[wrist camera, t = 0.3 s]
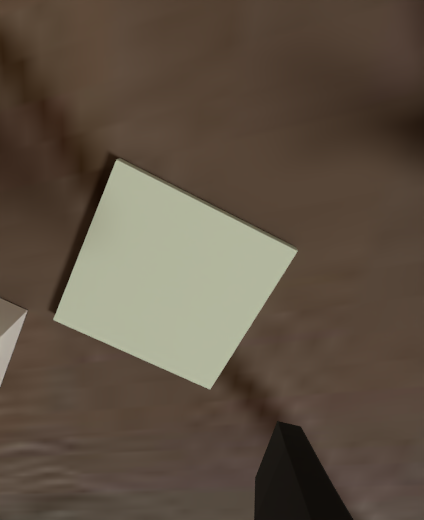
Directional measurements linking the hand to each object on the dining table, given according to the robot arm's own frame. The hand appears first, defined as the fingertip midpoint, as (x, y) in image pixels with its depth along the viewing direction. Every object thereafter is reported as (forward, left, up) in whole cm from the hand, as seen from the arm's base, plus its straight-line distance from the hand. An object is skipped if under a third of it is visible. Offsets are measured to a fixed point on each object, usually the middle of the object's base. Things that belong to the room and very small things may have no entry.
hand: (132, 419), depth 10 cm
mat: (-1, 0, -10) cm, 10 cm away
